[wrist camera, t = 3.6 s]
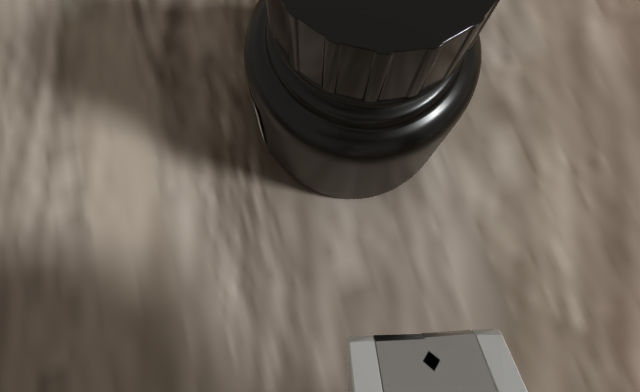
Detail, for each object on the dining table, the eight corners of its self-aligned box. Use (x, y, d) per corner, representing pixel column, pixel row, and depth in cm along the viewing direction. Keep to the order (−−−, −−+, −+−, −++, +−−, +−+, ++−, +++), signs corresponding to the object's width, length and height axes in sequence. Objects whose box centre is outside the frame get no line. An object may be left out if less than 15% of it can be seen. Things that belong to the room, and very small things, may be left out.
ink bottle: (347, -4, 26) (378, -258, 15) (480, 102, 25) (629, -82, 13) (215, 125, 25) (132, -46, 13) (352, 246, 23) (396, 178, 12)
